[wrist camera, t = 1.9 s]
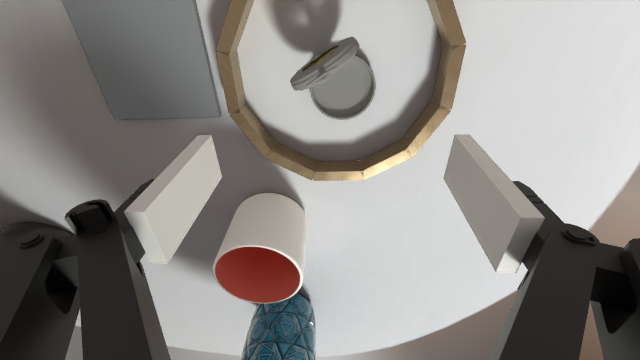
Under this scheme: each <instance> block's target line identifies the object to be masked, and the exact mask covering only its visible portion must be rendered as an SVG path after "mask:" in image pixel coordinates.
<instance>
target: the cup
mask: <svg viewBox="0 0 640 360" xmlns="http://www.w3.org/2000/svg"><path fill="white" fill-rule="evenodd" d="M307 233H308V221H307V217H306V215H305V213H304V211H303V209H302V208H301V207H300V206H299V205H298V204H297V203H296V202H295V201H293V200H292V199H290V198H288V197H286V196H283V195H280V194H275V193H261V194H257V195H254V196H251V197H249V198H247V199H246V200H245V201H243V202H242V203H241V204H240V205H239V207H238V208H237V210H236V212H235V215H234V217H233V219H232V221H231V224H230V226H229V228H228V231H227V233H226V235H225V238H224V240H223V242H222V245H221V247H220V249H219V251H218V254H217V256H216V258H215V261H214V264H213V274H214V277H215V279H216V281H217V283H218V284H219V285H220V286H221V287H222V288H223V289H224V290H225V291H226V292H228V293H229V294H231V295H232V296H234V297H236V298H239V299H241V300H244V301H248V302H252V303H261V304H268V303H276V302H281V301H284V300H286V299H288V298H290V297H292V296H293V295H295V294H296V293H297V292H298V290H299V289H300V288H301V285H302V283H303V275H304V265H305V254H306V244H307Z"/></svg>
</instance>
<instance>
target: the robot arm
mask: <svg viewBox="0 0 640 360" xmlns="http://www.w3.org/2000/svg"><path fill="white" fill-rule="evenodd" d="M221 178H222V174H221V170H220V167H219V163H218V159H217V155H216V151H215V147H214V143H213V139H212V135H198V136H197V137H196V138H195V139H194V140H193V141H192V142H191V143H190V144H189V145H188V146H187V147H186V148H185V149H184V150H183V151H182V152H181V153H180V154H179V155H178V156H177V157H176V158H175V159H174V160H173V162H172V163H171V164H170V165H169V166H168V167H167V168H166V169H165V170H164V171H163V172H162V173H161V174H160V175H159V176H158V177H157V178H156V179H151V180H150V181H148V182H146V183H145V184H143V185H141V186H140V187H139V188H138V189H137V190H136V191H135V193H134V194H132V195H131V196H130V197H129V199H127V200H126V201H125V202H124V203H123V204H122V205H121V206H120V207H119V208H118V209H117V210H116V211H115V212H114V213H113V211H112V209H111V207H110V205H109V203H108V202H107V201H105V200H92V201H88V202H85V203H82V204H80V205H77V206H76V207H74V208H72V209H71V210H70V211H69V212H68V213H67V214H66V216H65V220H66V221H67V223H68V224H69V226H70V227H71V229H72V230H73V232H74V233H75V234H73V235H72V234H70V233H68V232H66V231H63V230H61V229H58V228H55V227H52V226H49V225H45V224H40V223H31V222H23V223H16V224H13V225H10V226H8V227H7V228H5V229H4V230H3V231H1V232H0V360H65V357H66V353H67V350H68V347H69V343H70V340H71V336H72V333H73V329H74V326H75V323H76V320H77V316H78V313H79V309H80V312H81V330H82V347H83V360H171V359H170V356H169V353H168V349H167V346H166V343H165V339H164V336H163V333H162V329H161V326H160V323H159V319H158V316H157V313H156V309H155V306H154V303H153V299H152V296H151V293H150V289H149V286H148V283H147V279H146V276H145V273H144V269H143V266H142V264H141V262H140V259H141V258H142V257H143V255H144V254H146V256H147V258H148V260H149V262H150V263H166V264H168V263H169V261H170V260H171V258H172V256H173V255H174V253H175V252H176V250H177V248H178V247H179V245H180V244H181V242H182V240H183V239H184V237H185V236H186V234H187V232H188V231H189V229H190V228H191V226H192V224H193V223H194V221H195V220H196V218H197V216H198V215H199V213H200V212H201V210H202V208H203V207H204V205H205V204H206V202H207V200H208V199H209V197H210V196H211V194H212V192H213V191H214V189H215V188H216V186H217V184H218V183H219V181H220V180H221ZM444 180H445V182H446V184H447V185H448V187H449V189H450V191H451V193H452V194H453V196H454V198H455V200H456V202H457V203H458V205H459V207H460V209H461V211H462V212H463V214H464V216H465V218H466V220H467V221H468V223H469V225H470V227H471V229H472V230H473V232H474V234H475V236H476V237H477V239H478V241H479V243H480V245H481V246H482V248H483V250H484V252H485V254H486V255H487V257H488V259H489V261H490V263H491V264H492V266H493V268H494V270H495V272H513V273H516V272H517V270H518V268H519V267H520V265H521V263H522V262H523V263H524V265H525V266H526V268H527V269H528V271H527V273H526V275H525V276H524V278H523V280H522V282H521V284H520V285H519V287H518V290H519V291H518V293H517V295H516V298H515V300H514V302H513V305H512V307H511V309H510V312H509V314H508V316H507V319H506V321H505V323H504V326H503V328H502V330H501V333H500V335H499V337H498V340H497V342H496V345H495V347H494V349H493V351H492V354H491V356H490V359H489V360H579V356H580V350H581V345H582V340H583V334H584V329H585V324H586V319H587V314H588V308H589V303H590V301H591V305H592V309H593V313H594V318H595V323H596V327H597V331H598V336H599V340H600V344H601V349H602V353H603V357H604V360H640V238H639V239H632V240H631V241H629V243H628V244H627V245H626V246H625V247H624V248H622V247H617V246H612V245H608V244H603V243H600V242H599V240H598V239H597V238H596V237H595V236H594V235H593V234H592V233H590V232H589V231H587V230H585V229H583V228H581V227H578V226H575V225H571V224H565V223H564V222H563V221H562V220H561V219H560V218H559V217H558V216H557V215H556V214H555V213H554V212H553V211H552V210H551V209H550V208H549V207H548V206H547V205H546V204H544V202H543V201H542V200H541V199H540V198H539V197H538V196H537V195H536V194H535V192H534V191H533V190H532V189H531V188H529V187H528V186H526V185H524V184H523V183H521V182H519V181H511V180H510V179H509V178H508V176H507V175H506V174H505V173H504V172H503V171H502V170H501V169H500V168H499V167H498V165H497V164H496V163H495V162H494V161H493V160H492V159H491V158H490V157H489V156H488V154H487V153H486V152H485V151H484V150H483V149H482V148H481V147H480V146H479V144H478V143H477V142H476V141H475V140H474V139H473V138H472V137H471V136H470V135H454V139H453V143H452V147H451V151H450V155H449V159H448V163H447V167H446V171H445V175H444Z"/></svg>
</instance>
